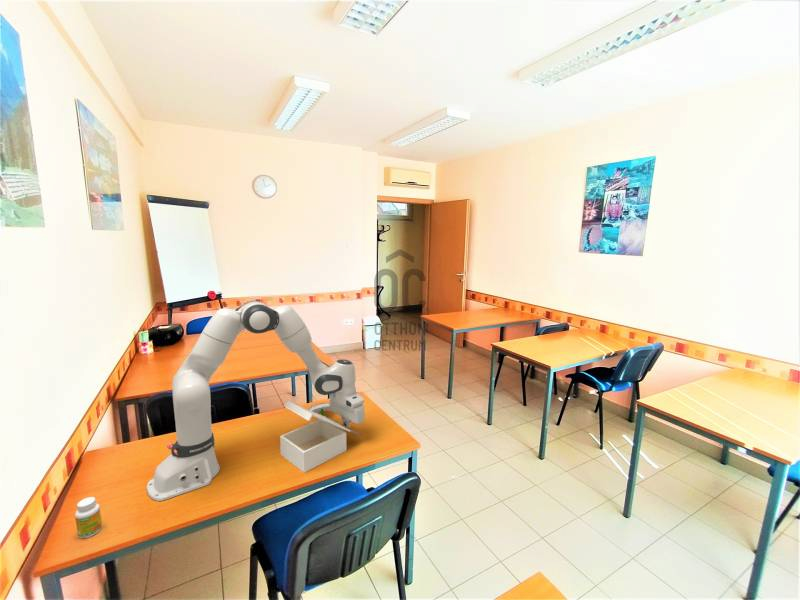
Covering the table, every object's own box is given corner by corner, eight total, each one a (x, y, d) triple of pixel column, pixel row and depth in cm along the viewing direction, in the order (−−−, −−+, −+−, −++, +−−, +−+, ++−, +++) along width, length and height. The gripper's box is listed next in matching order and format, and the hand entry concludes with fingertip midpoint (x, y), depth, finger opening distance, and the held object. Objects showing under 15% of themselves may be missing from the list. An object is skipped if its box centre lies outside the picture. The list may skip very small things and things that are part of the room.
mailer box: (304, 472, 132) (303, 452, 131) (280, 454, 143) (279, 436, 142) (346, 450, 147) (346, 432, 145) (322, 435, 158) (321, 418, 157)
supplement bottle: (79, 542, 100) (75, 511, 99) (76, 532, 104) (72, 502, 103) (103, 531, 104) (100, 501, 103) (100, 521, 108) (96, 492, 107)
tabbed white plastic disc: (333, 406, 184) (336, 393, 178) (337, 420, 179) (340, 407, 172) (304, 412, 178) (305, 398, 172) (306, 426, 173) (308, 412, 166)
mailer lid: (308, 420, 131) (312, 414, 131) (284, 406, 142) (287, 400, 143) (359, 441, 151) (361, 435, 152) (333, 427, 163) (336, 421, 164)
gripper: (325, 391, 159) (326, 420, 161) (355, 405, 145) (356, 437, 147) (336, 387, 163) (337, 415, 166) (366, 400, 150) (367, 431, 152)
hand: (346, 425), depth 156 cm, fingers closed, pressing on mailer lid
